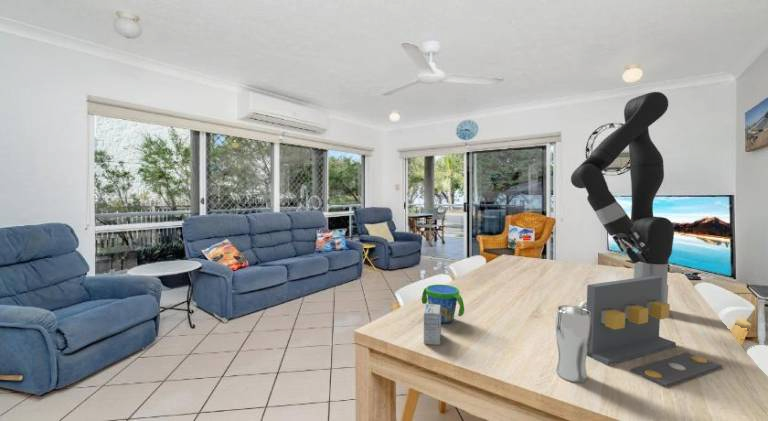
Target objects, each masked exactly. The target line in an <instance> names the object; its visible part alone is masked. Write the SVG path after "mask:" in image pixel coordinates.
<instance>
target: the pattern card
mask: <svg viewBox="0 0 768 421" xmlns="http://www.w3.org/2000/svg"><path fill="white" fill-rule="evenodd" d="M720 369H723V365H722V364H719V363H717V362H714V361H711V360H710V359H709V360H708V359H705V358H703V357H700V356H697V355H696V354H695V355H694V354H692V353H689V352H687V351H685V352H682V353H679V354H675V355H672V356H668V357H666V358H663V359H659V360H655V361H652V362H648V363H646V364H642V365H637V366H634V367H632V368H630V372H631V373H634V374H636V375H638V376H640V377H642V378H644V379H646V380H648V381H651V382H653V383H655V384H657V385H659V386H661V387H664V388H669V387H672V386H675V385H677V384H679V383H683V382H686V381H688V380H692V379H694V378H697V377H700V376H703V375H706V374H708V372H709V373H712V372H715V371H717V370H720ZM711 371H712V372H711ZM705 373H706V374H705Z"/></svg>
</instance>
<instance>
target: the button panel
mask: <svg viewBox="0 0 768 421" xmlns="http://www.w3.org/2000/svg"><path fill="white" fill-rule="evenodd" d="M661 288H662V277H658V276H648V277H640V278H634V277H632V278H627V279H620V280H613V281H606V282H605V281H604V282H598V283H592V284H587V289H586V291H587V292H586V302H587V310H589V311H590V312H591V325H592V332H591V341H590V345H589V349H588V353H587V357H588V358H591V359H593V360H595V361H597V362H600V363H601V364H604V365H605V366H608V367H609V366H613V365H615V364H619V363H622V362H626V361H630V360H634V359H636V358H641V357H644V356H647V355H651V354H655V353H658V352H662V351H666V350H669V349H673V348H676V347H677V343H676V341H673V340H670V339H667V338H664V337H662V336H661V337H660V325H661V324H660V323H661V322H660V321H661V319H658V318H654V317H651V316H650V315H649V314H648V322H647V323H643V324H636V323H633V322H630V321H628V319H626V318H625V328H620V329H616V330H615V329H612V328H609V327H607V326H605V324H603V323H601V310H603V309H609V310H617V311H620V312H624V310H625V305H633V306H641V307H645V308H646V302H647V301H654V302H661Z"/></svg>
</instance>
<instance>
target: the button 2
mask: <svg viewBox="0 0 768 421" xmlns="http://www.w3.org/2000/svg"><path fill="white" fill-rule="evenodd" d="M670 306H671V304H670V303H668V302H667V303H663V302H654V301H647V302H646V308H648V314H649V315H650V316H651V317H654V318H658V319H660V320H664V319H669V318H670V308H671V307H670Z"/></svg>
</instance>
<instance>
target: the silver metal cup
mask: <svg viewBox="0 0 768 421" xmlns="http://www.w3.org/2000/svg"><path fill="white" fill-rule="evenodd" d="M556 309H557V310H556V316H555V317H556V318H555V337H556V343H557V350H558V362H557V366H556V371H555V372H556V374H557V375H558V377H560V378H561V379H563V380H565V381H568V382H571V383H577V384H578V383H579V384H580V383H585V382H587V380H588V374H587V367H586V366H587V365H586V364H587V363H586V361H587V357H588V356H587V353H588V349H589V345H590V341H591V332H592V325H591V312H590V311H589V310H587V309H584V308H581V307H578V306H577V305H571V304H570V305H568V304H565V305H564V304H563V305H558V306H557V308H556Z"/></svg>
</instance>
